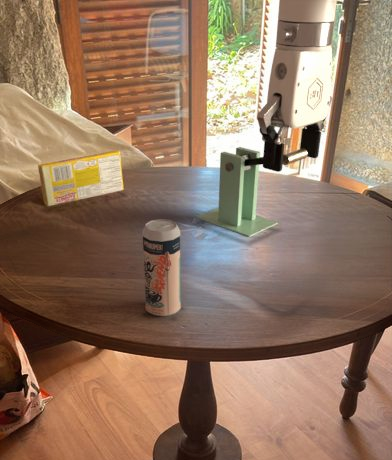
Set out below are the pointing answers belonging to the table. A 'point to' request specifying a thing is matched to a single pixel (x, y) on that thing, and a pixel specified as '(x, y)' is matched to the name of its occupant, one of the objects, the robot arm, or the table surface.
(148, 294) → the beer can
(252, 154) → the bracket
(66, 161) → the candy box
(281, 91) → the robot arm
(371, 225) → the table surface
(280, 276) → the table surface
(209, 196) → the table surface
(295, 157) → the lever
